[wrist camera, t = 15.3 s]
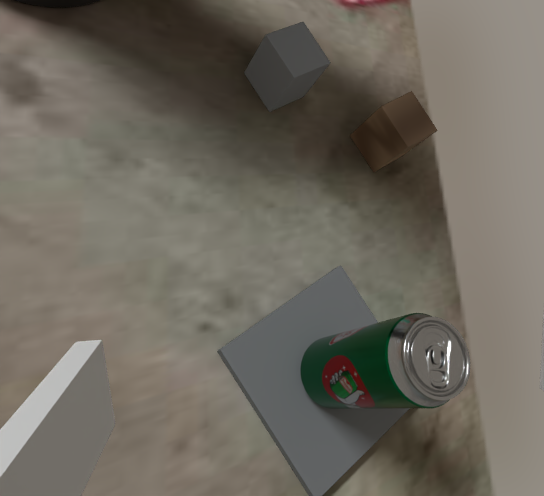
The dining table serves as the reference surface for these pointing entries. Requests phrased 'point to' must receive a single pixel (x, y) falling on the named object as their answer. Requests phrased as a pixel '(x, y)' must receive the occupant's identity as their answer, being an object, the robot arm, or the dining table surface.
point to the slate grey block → (286, 65)
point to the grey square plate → (289, 388)
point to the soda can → (388, 365)
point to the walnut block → (392, 131)
